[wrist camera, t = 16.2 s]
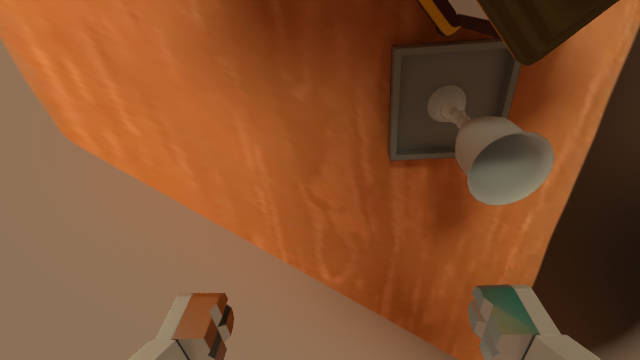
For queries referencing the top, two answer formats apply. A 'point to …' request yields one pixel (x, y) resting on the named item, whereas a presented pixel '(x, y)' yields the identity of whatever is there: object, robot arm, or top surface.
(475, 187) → the chalice
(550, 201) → the top surface
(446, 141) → the tray
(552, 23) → the decorative lantern
